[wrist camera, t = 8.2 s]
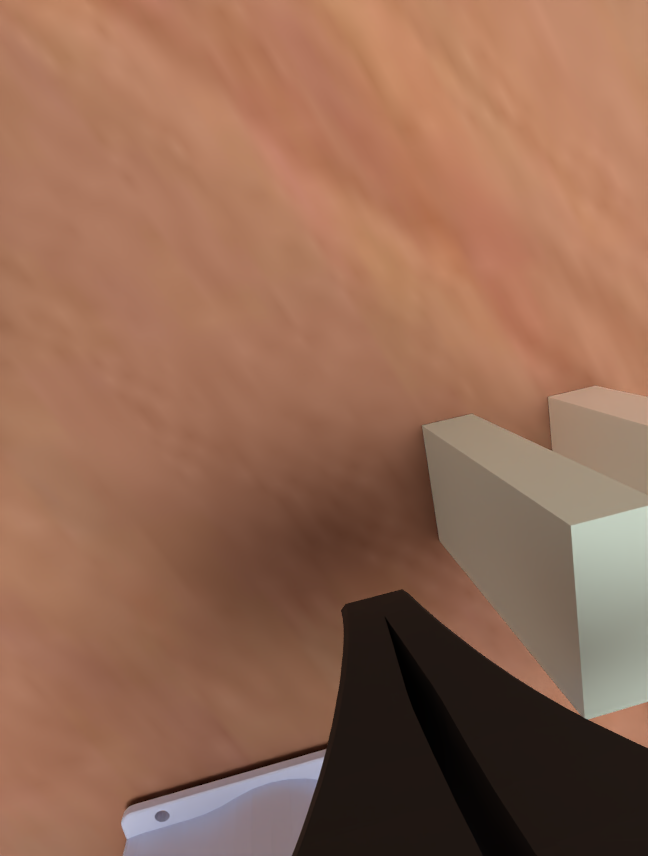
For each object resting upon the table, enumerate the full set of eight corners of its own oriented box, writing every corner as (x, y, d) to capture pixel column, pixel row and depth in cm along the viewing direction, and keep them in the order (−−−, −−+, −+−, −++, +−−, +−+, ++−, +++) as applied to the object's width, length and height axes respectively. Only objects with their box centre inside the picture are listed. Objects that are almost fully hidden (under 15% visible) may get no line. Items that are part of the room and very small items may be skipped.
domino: (439, 540, 17) (584, 720, 10) (421, 425, 16) (570, 525, 9) (485, 528, 18) (665, 695, 10) (471, 413, 17) (661, 501, 9)
